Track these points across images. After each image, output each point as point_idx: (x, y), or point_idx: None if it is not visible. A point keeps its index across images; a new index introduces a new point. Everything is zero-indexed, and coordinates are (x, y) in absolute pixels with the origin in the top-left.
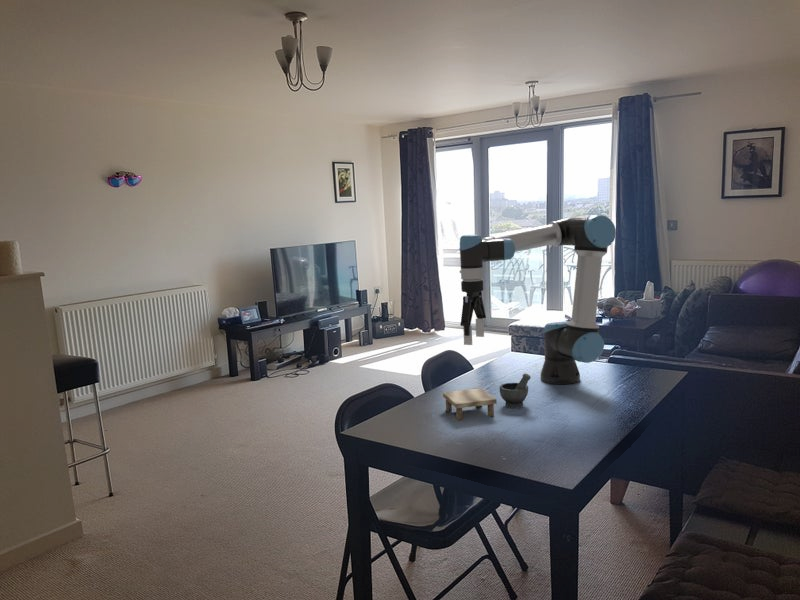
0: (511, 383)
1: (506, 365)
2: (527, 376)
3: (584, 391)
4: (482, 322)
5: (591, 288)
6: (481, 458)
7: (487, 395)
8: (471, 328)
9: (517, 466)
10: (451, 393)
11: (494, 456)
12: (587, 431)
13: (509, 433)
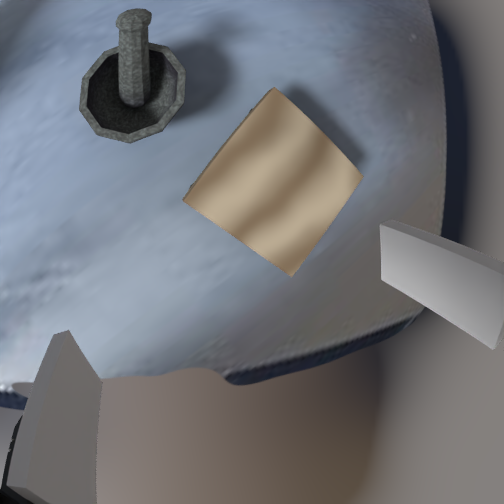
0: (95, 119)
1: None
2: (143, 10)
3: None
4: (37, 449)
5: None
6: (428, 66)
7: (253, 130)
8: (495, 265)
9: (419, 19)
10: (289, 248)
11: (416, 49)
12: None
13: (335, 40)
